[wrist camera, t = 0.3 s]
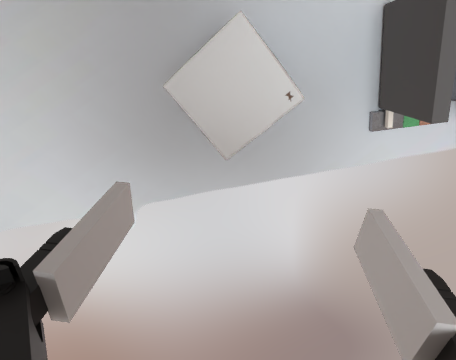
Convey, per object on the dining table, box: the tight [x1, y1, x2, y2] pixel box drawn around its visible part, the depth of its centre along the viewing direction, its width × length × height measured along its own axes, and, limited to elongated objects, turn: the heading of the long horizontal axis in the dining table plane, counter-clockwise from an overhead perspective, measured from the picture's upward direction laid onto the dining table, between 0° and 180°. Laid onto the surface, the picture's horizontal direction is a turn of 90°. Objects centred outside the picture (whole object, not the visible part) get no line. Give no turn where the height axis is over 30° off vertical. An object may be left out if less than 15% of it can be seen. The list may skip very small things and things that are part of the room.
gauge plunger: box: [379, 0, 456, 128], centre depth 30 cm, size 14×10×11 cm, turn 9°
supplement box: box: [163, 11, 304, 160], centre depth 30 cm, size 9×9×15 cm
